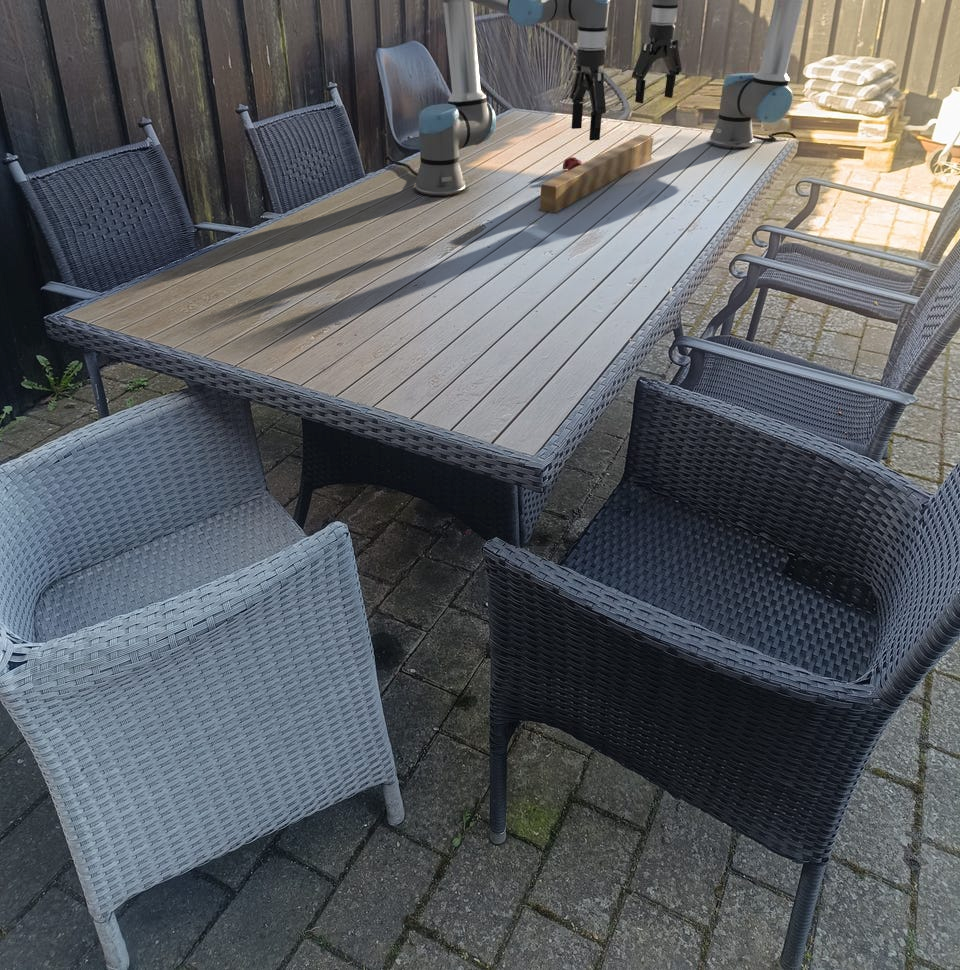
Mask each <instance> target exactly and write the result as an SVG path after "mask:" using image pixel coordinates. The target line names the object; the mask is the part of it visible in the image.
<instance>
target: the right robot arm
mask: <svg viewBox="0 0 960 970" xmlns="http://www.w3.org/2000/svg"><path fill="white" fill-rule="evenodd" d="M679 1H680V0H652V3H651V4H652V5H651V14H650V15H651V16H650V22H651V24H650V25H649V31H648V37H649V39H650V41H649V43H647V42H643V43H642V45H641V50H640V53H639V56H638V58H637V61H636V63H635V65H634V68H633V71H632V73H631V78H633V79H634V80H635V81H636V82H635V99H634V102H635V103H637V104H644V99H645V90H646V82H647V81H646V79H645V78H646V77H647V74H648V73H649V71H650V70H651V68H652V66H653V64H654V63H655V62H656V61H657V60H660V59H663V62H664V64H665V66H666V69H667V71H668V74H666V80H665V86H664V87H665V89H664V98H669V99H673V97H674V89H675V88H674V87H675V85H676V79H677V76H679V75H680V73H681V72H682V63H681V57H680V52H679V39H674V37H675V33H676V25H675V24H676V22H677V16H678V7H679ZM803 2H804V0H774V2H773V7H772V13H771V16H770V21H769V25H768V30H767V34H766V40H765V44H764V49H763V54H762V57H761V63H760V67H759V70H758V71H757V72H745V73H744V72H742V73H731V74H727V75H726V76H725V78H724V81H723V85H722V89H721V95H720V96H721V97H720V102H719V103H720V104H719V110H718V117H717V121H716V123H715V125H714V128H713V130H712V133H711V134H710V136H709V144H710V145H712V146H714V147H718V148H722V149H723V148H724V149H730V150H731V149H732V150H739V149H740V150H741V149H748V148H751V147H753V145H754V140H755V139H756V140H759V141H764V142H775V141H777V137H775V136H779V135H789V136H791V137H793V139H797V136H796V134H794V133H793V132H790V131H777V132H774V133H769V134H768V138H767V137H761V136H757V135H754V134H753V123H752V122H753V119H754V120H757V121H759V122H762V123H769V124H773V123H776V122H779V121H780V120H782V118H783V117H784V116H786V115H787V113H788V112H789V110H790V108H791V106H792V103H793V99H794V98H793V97H794V95H793V93H792V90H791V88H790V87H789V85H790V84H789V83H790V77H789V76H788V74H787V71H788V68H789V63H790V59H791V55H792V49H793V46H794V41H795V37H796V34H797V33H796V32H797V28H798V24H799V20H800V15H801V10H802V7H803Z"/></svg>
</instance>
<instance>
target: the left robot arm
mask: <svg viewBox="0 0 960 970" xmlns="http://www.w3.org/2000/svg"><path fill="white" fill-rule="evenodd" d="M440 1H441V2H442V7H443V17H444V26H445V37H446V46H447V54H448V56H447V58H448V64H449V74H450V83H451V84H450V85H451V95H450V96H449V98H448V100H447V103H439V104H431V105H429V106H426V107H424V108H423V109H422V110H421V111H420V112H419V114H418V115H419V116H418V126H417V127H418V137H419V138H418V139H419V157H420V158H419V159H420V161H419V162H420V164H419V168H418V172H417V171H416V170H414V169H413V168H412V167H411V166H410V164H407V163H405V162H401V161H397V160H394V159H393V158H392V157H391V156H390V155H387V156H386V157H385V160H386V161H389V162H390V163H392V164H394V165H396V166H401V167H404V168H405V167H406V168H407V169H408V170H409V171H410V173H412V175H414V176H416V180H415V192H417V193H418V194H420V195H424V196H430V197H450V196H455V195H459V194H461V193H463V192H464V191H466V181H465V179H464V176H463V172H462V169H461V165H460V150H462V149H465V148H467V147H471V146H478V145H480V144H482V143H484V142H485V141H486V142H487V140H489V139H490V138H491V137H492V135H493V134H494V132H495V130H496V124H497V118H496V113H495V109H494V108H493V107H492V105H491V103H489V102H488V101H487V95H486V94H485V93H484V92H483V91H482V89H481V80H480V69H479V68H480V66H479V57H478V55H479V54H478V47H477V46H478V43H477V33H476V24H475V13H474V12H475V11H474V4H476V5H480V6H481V7H484V8H487V9H489V10H492V11H495V12H496V13H500V14H502V15H505V16H508V17H510V20H512V22H513V24H515V25H516V26H517V25H518V26H521V27H525V26H526V27H531V26H533V25H539V24H544V23H549V22H555V21H556V22H557V21H562V20H563V21H574V22H578V23H577V38H576V47H578V48H577V50H576V56H575V64H576V65H575V74H574V77H573V82H572V86H571V90H570V94H569V99H570V100H571V101H572V102H571V103H572V113H571V114H572V115H571V129H572V130H577V129H582V126H583V111H584V103H585V100H584V97H585V95H586V93H587V92H588V95H589V100H590V106H591V112H590V124H589V138H588V139H589V141H591V142H592V141H600V139H601V128H602V117H603V115H604V114H606V113H607V105H606V95H605V83H604V79H605V74H604V72H600V71H599V68H600V67H602V66H604V65H605V63H606V53H607V52H606V51H607V50H605V49H604V48H606V46H607V38H608V37H609V34H608V21H609V12H610V11H609V9H610V4H611V3H610V2H611V0H440Z"/></svg>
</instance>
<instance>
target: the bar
mask: <svg viewBox="0 0 960 970" xmlns="http://www.w3.org/2000/svg"><path fill="white" fill-rule="evenodd" d="M653 144H654V135H653V136H651V135H645V134H639V135H637V136H635V137H633V138H631V139H629V140H627V141H625V142H622V143H620V144H619V145H616V146H615V147H613V148H610V149H609V150H606V151H605V152H603V153H601V154H599V155H597V156H595V157H594V158H591V159H589V160H586V161H585V162H582V164H581V165H579V166H577V167H575V168H573V169H571V170H569V171H568V170H566V171H565V172H563V173H561V174H559V175H557V176H555V177H553V178H551V179H549V180H547V181H545V182H543V183H541V184H540V204H539V211H543V212H548V213H553V214H556V213H557V212H559V211H561V210H563V209H565V208H566V207H568V206H569V205H571V204H573V203H575V202H577V201H578V200H581V199H583V198H584V197H586V196H587V195H589V194H591V193H593V192H594V191H596V190H598V189H600V188H602V187H603V186H605V185H607V184H609V183H611V182H613V181H614V180H616V179H618V178H619V177H621V176H623V175H625V174H627V173H628V172H630V171H633V170H634V169H635V168H637V167H639V166H641V165H643V164H644V163H646V162H649V161H650V160H651V159H652V153H653Z"/></svg>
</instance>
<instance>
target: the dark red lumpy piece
mask: <svg viewBox="0 0 960 970" xmlns="http://www.w3.org/2000/svg"><path fill="white" fill-rule="evenodd" d="M581 164H583V162H582V160H580V159H578V158H577V157H575V156H570V157H568V158H566V159H564V161H563V164H562V170H567V171H569V170H571V169H573V168H575V167H577V166H579V165H581Z"/></svg>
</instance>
